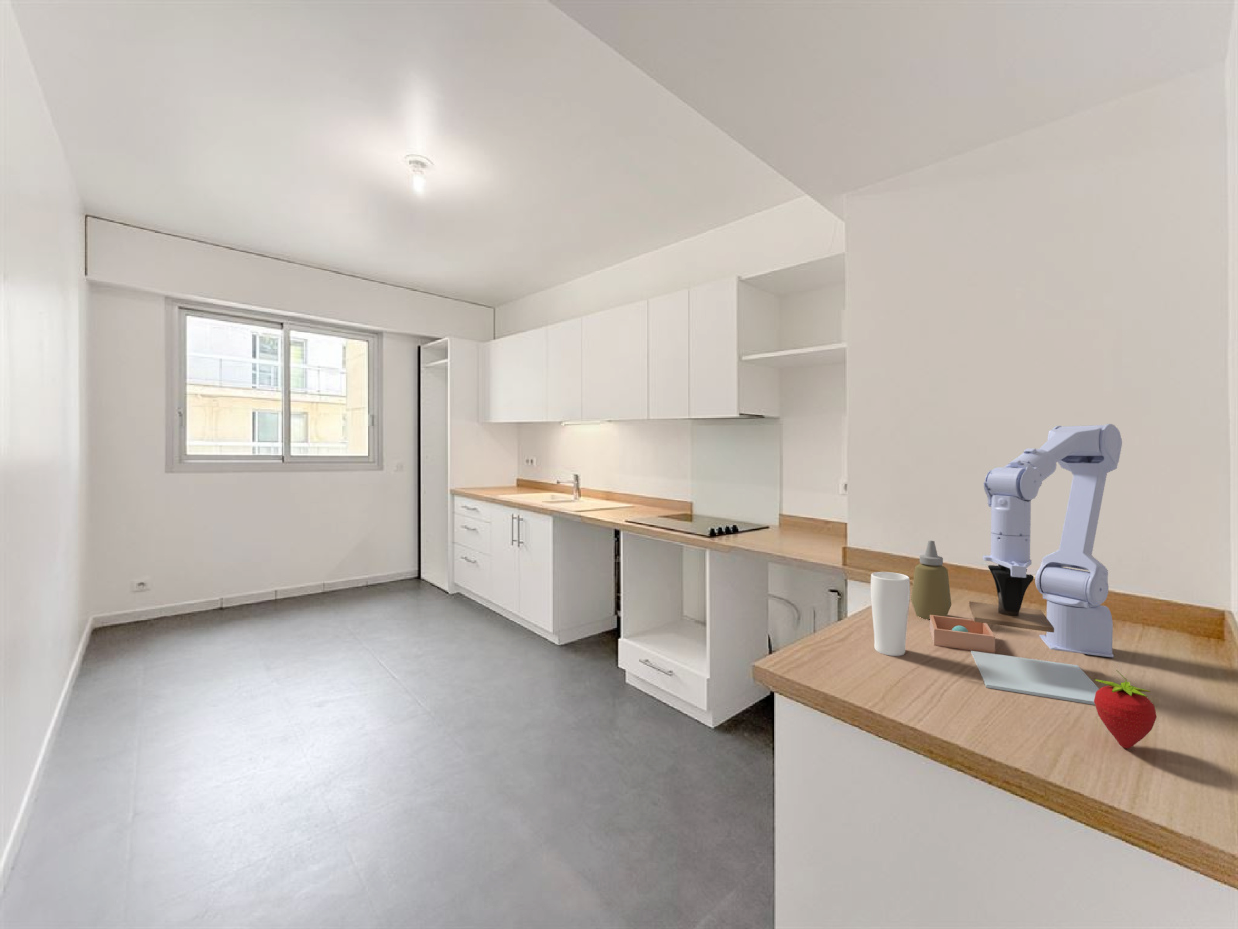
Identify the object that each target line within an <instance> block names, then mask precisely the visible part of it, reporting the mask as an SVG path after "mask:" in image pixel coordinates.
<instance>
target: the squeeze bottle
mask: <svg viewBox="0 0 1238 929" xmlns="http://www.w3.org/2000/svg"><path fill="white" fill-rule="evenodd" d="M912 582H913V583H912V589H911V595H910V601H911V604H912V607H913V609H914V610H913V611H914V612H915V615H916V617H918V616H919V617H921V618H920V619H922V618H923V619H922V620H926V619H930V615H937V616H945V617H948V614H949V612H950V609H951V608H952V607H951V606H952V598H951V589H950V587H951V586H950V580H949V569H948V568H947V567H945V566H944V558H943V557H942V556H940V555H939V554H938V551H937V546H936V543H935V541H934V540H928V542H927V545H926V549H925V553H924V554H921V555H919V564H917V565H915V566H914V573H913V581H912ZM919 617H918V618H919Z"/></svg>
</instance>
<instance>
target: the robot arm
mask: <svg viewBox="0 0 1238 929" xmlns="http://www.w3.org/2000/svg"><path fill="white" fill-rule="evenodd" d="M1122 447H1123V439H1122V436H1121V432H1120V430H1119V428H1118V427H1116V425H1115V424H1113V423H1107V424H1095V425H1094V424H1092V425H1068V426H1067V425H1066V426H1062V425H1056V426H1054V427H1052V429H1050V430H1049V431H1048V434H1047V441H1045V443H1043V444H1042V445H1041V447H1039V448H1035V447H1034V448H1032V447H1030V448H1028V447H1027V448H1025V449H1024V450H1023V452H1022V453H1021V454H1020V455H1019V456H1017V457H1015V458H1014V459H1012V460H1011V461H1010V462H1009V463H1007V464H1006V465H1005V466H1003V467H1001V466H999V467H998V466H997V467H994V468H993V469H991V470H989V471H988V472H987V473H986V475H985V479H984V481H983V490H984V492H985V494H986V498H987V505H988V507H989V508H990V554H989V555H986V554H984V555H982V560H983V561H985V562H992V563H994V564H997V565H994V564H993V565H987V568H988V569H989V571H990V573H991V575H992V578H993V581H994V584H995V589H996V593H997V596H998V595H999V592H1001V599H1002V605H1003V608H1004V610H1005V611H1009V612H1019V611H1020V608H1022V603H1023V600H1024V597H1025V594H1026V591H1027V590H1028V588H1029V586H1030V585H1031V583H1032V582H1033V580H1034V579H1035V582H1034V583H1035V587H1036V589H1037V591H1038V592H1039V594H1041V595H1042V599H1043V600H1046V618H1047V619H1048V620H1049V622H1050V623H1051V624H1052V626H1053V627H1054V633H1053V632H1046V631H1045V632H1046V634H1039V639H1041V640H1042V641H1043V643H1044V644H1045V645H1046V647H1048V648H1049V650H1052V651H1053V650H1054V651H1059V652H1060V651H1061V652H1068V653H1069V652H1070V653H1077V654H1084V655H1090V656H1099V657H1105V658H1107V657H1108V658H1114V654H1113V636H1114V635H1113V628H1114V626H1113V623H1114V622H1113V617H1112V613H1111V610H1110V608H1109V607H1108V606H1106V605H1102V604H1103V603H1105V601H1106V600H1107V598H1108V595H1109V587H1110V586H1109V583H1108V582H1109V581H1108V579H1109V578H1108V577H1109V570H1108V568H1106V566H1105V565H1104V564H1103V563H1101V561H1099V560H1098V559H1097V558H1096V557H1094V555H1093V551H1094V549H1093V548H1094V545H1095V539H1096V534H1097V528H1098V524H1099V518H1100V511H1101V506H1102V501H1103V496H1104V492H1105V486H1106V480H1107V476H1108V473H1111V472H1113V471H1115V470H1117V468H1118V465H1119V462H1120V457H1121V451H1122ZM1057 463H1058V465H1059V466H1060V468H1061V469H1064V470H1066V471H1068V472H1071V474H1072V480H1071V485H1070V490H1069V496H1068V500H1067V505H1066V506H1067V507H1066V512H1065V516H1064V521H1063V527H1062V530H1061V531H1062V532H1061V538H1060V543H1059V547H1058V549H1057V550H1055V551H1054V552H1051V553H1049V554H1047V555H1045V556H1043V557H1042V559H1041V563H1040V565H1039V567H1038V569H1037V571H1036V574H1035V578H1034V575H1033V574H1028V573H1027V572H1028V569H1027V568H1029V567H1030V566H1031V565H1032V559H1031V523H1032V522H1031V520H1032V518H1031V516H1032V514H1031V512H1032V510H1031V509H1032V508H1031V507H1032V505H1031V504H1032V503H1031V502H1032V500H1034V499H1036V497H1037V496H1038V493H1039V490H1040V488H1041V486H1042V484H1043V481H1045V480H1047V479H1048V477H1050V476H1051V475H1053V474H1054V473H1055V471H1056V469H1057Z"/></svg>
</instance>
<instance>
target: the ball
mask: <svg viewBox="0 0 1238 929" xmlns="http://www.w3.org/2000/svg"><path fill="white" fill-rule="evenodd" d="M952 631H961V632H968V630H967V629H966V628H965V627H963V626H955V627H954V628H953V629H952Z"/></svg>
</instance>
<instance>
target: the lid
mask: <svg viewBox="0 0 1238 929" xmlns="http://www.w3.org/2000/svg"><path fill="white" fill-rule="evenodd" d="M997 598H998V599H997V602H998V603H997V604H993V603H986V602H978V601H970V600H969V603H968V605H969V606H968V607H969V609H970V611H971V615H972V617H973V618H972V620H974V622H980V623H987V624H988V625H995V626H1003V627H1010V628H1017V629H1025V630H1031V631H1032V630H1033V631H1038V632H1039V631H1040V632H1053V633H1054V627H1053V626H1052V624H1051V623H1050V622H1049V620H1048V619H1047V615H1046V614H1044V612H1043V611H1042V610H1041V609H1035V608H1028V607H1021V608H1020V611H1019V612H1009V611H1005V610H1004V608H1003V605H1002V599H1001V592H999V595H998V594H997Z"/></svg>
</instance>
